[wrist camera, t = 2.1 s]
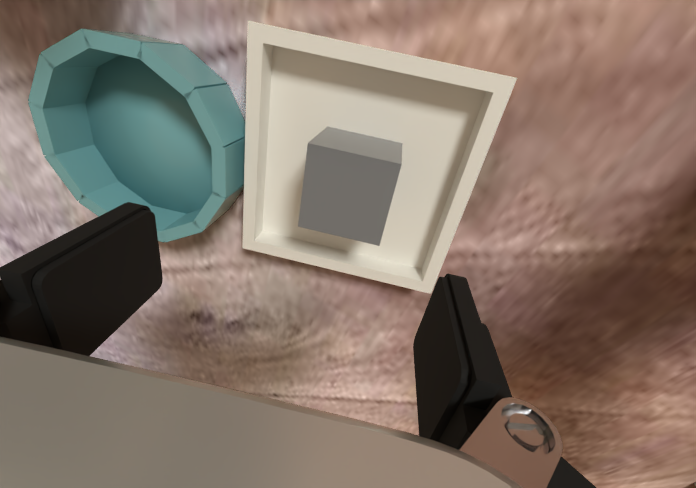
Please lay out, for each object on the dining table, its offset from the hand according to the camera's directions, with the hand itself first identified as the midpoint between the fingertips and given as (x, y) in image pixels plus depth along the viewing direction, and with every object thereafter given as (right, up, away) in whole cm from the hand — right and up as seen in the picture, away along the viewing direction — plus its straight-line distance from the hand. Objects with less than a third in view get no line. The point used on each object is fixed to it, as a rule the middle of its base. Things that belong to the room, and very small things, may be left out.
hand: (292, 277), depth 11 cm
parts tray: (+2, +6, +10) cm, 12 cm away
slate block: (+2, +6, +10) cm, 11 cm away
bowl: (-10, +8, +11) cm, 17 cm away
